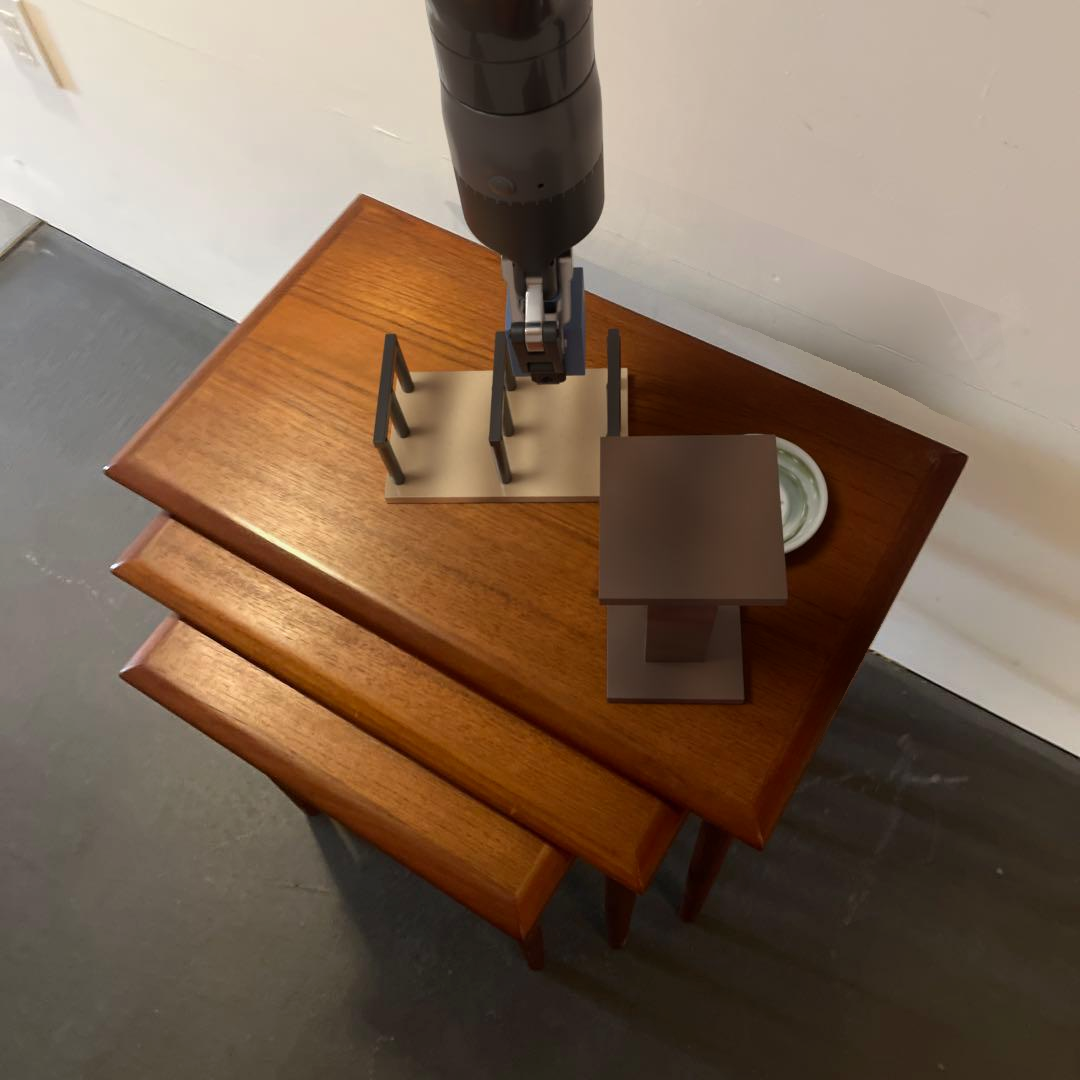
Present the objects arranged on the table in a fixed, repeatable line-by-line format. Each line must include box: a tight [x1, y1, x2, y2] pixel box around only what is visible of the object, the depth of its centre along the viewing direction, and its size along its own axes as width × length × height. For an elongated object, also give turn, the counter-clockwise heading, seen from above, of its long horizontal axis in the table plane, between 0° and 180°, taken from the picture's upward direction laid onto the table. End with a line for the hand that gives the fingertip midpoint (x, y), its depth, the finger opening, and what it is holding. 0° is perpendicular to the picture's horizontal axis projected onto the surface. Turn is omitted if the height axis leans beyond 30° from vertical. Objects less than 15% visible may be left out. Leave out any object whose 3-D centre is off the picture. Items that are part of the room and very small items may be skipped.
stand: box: [598, 434, 789, 705], centre depth 58 cm, size 9×9×20 cm
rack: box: [372, 328, 629, 504], centre depth 71 cm, size 18×11×7 cm, turn 88°
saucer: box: [744, 433, 829, 554], centre depth 69 cm, size 10×10×2 cm
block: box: [504, 266, 587, 377], centre depth 61 cm, size 5×5×5 cm
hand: (550, 343), depth 63 cm, fingers closed on block, 4 cm apart
